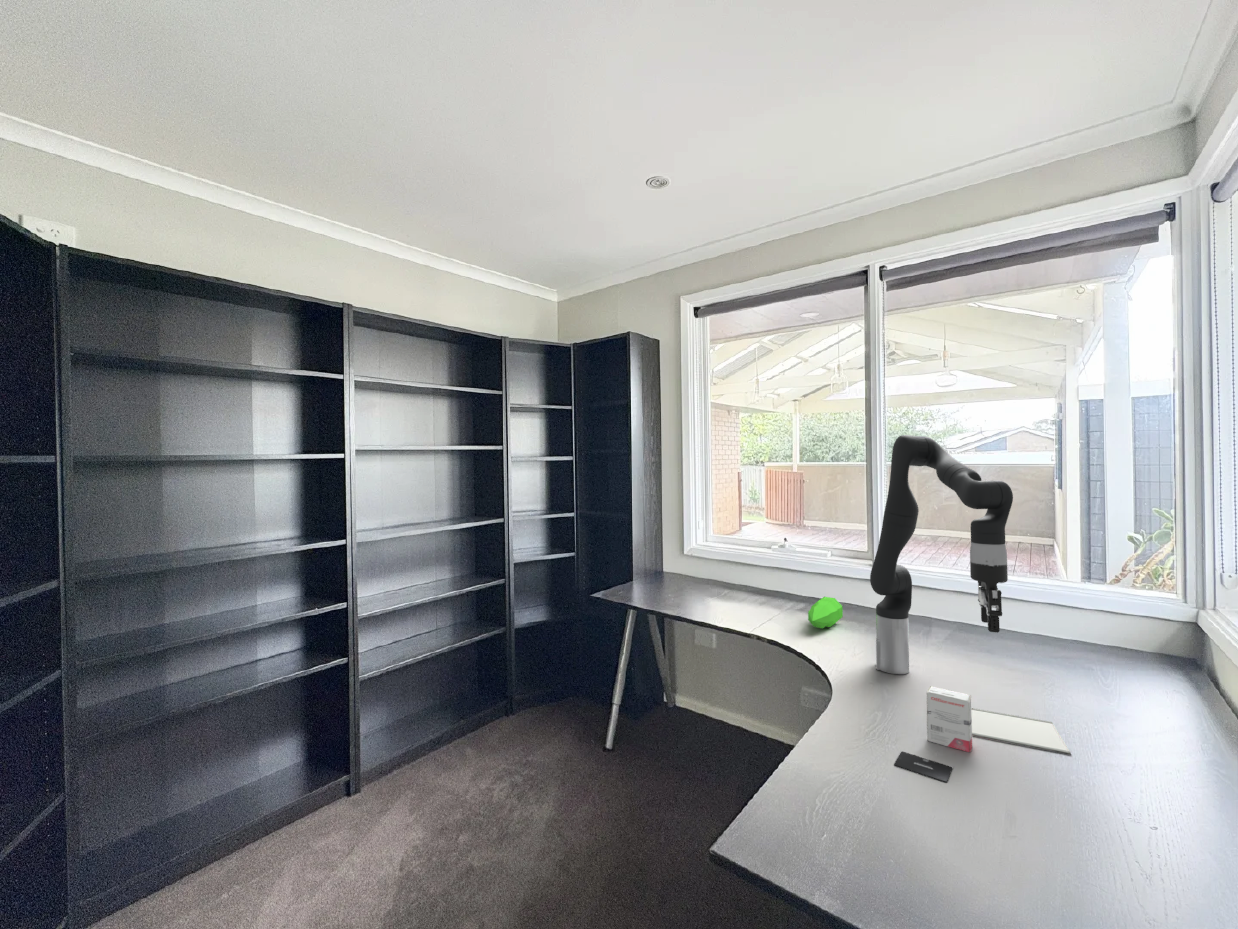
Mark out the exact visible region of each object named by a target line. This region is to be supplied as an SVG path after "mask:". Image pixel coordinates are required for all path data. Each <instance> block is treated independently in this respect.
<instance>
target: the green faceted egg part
mask: <svg viewBox="0 0 1238 929" xmlns="http://www.w3.org/2000/svg"><path fill="white" fill-rule="evenodd" d="M843 610H844V609H843V605H842V604H841V603H840V602H839V601H838V600H837V599H836V598H835V597H829V596H822V598H820V599H818V600H817V601H816V602H815V603H813V604H812V605H811V606H810V609H809V610H808V612H807V614H808V615H807V616H808V617H807V620H808V621H809V623H810V624H811V625H812V626H813V628H817V629H824V628H828V627H830V628H831V627H833V625H835V624H836V623H838V622H839V621H840V620H841V619H842V618H843V612H844V611H843ZM825 626H826V627H825Z"/></svg>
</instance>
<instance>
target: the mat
mask: <svg viewBox="0 0 1238 929" xmlns="http://www.w3.org/2000/svg"><path fill="white" fill-rule="evenodd" d="M971 717H972V737H974V738H975V737H976V738H979V739H985V740H991V741H994V742H995V741H996V742H1001V743H1005V744H1010V745H1011V744H1012V745H1016V746H1021V747H1027V748H1030V749H1031V748H1033V749H1038V750H1041V751H1042V750H1043V751H1048V752H1053V753H1058V754H1064V755H1068V756H1071V755H1072V751H1070V750H1069V748H1068V745H1067V744H1066V743H1065V741H1064V739H1063V738H1062V737H1061V734H1060V733H1059V732H1058V730H1057V728H1056V727H1055V724H1054V723H1053V722H1052V721H1050V720H1043V719H1038V718H1030V717H1026V716H1020V715H1014V714H1007V713H1002V712H997V711H991V710H985V709H980V708H979V709H978V708H974V707H973V708H972V707H971Z"/></svg>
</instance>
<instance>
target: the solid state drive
mask: <svg viewBox="0 0 1238 929" xmlns="http://www.w3.org/2000/svg"><path fill="white" fill-rule="evenodd" d="M893 766H894V767H896V768H899V769H903V770H905V771H908V772H912V773H914V774H917V773H918V775H921V776H924V777H926V778H929V779H932V780H936V781H939V782H941V783H945V784H947V783H948V782H949V779H950V777H951V775H952V772H953V769H954V768H953V767H952V766H950V765H947V764H944V763H941V762H938V761H935V760H931V759H928V758H925V757H921V756H919V755H915V754H911V753H909V752H906V751H900V752H899V754H898V756H897V758H896V760H895V762H894V763H893Z"/></svg>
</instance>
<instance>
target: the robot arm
mask: <svg viewBox="0 0 1238 929" xmlns="http://www.w3.org/2000/svg"><path fill="white" fill-rule="evenodd" d="M891 452H892V453H891V462H890V463H891V464H890V476H889V485H888V492H887V497H886V503H885V506H884V512H883V517H882V526H881V532H880V537H879V541H878V546H877V550H876V554H875V555H874V560H873V564H872V567H871V571H870V575H869V581H870V586H871V588H872V590H873V591H874V592H875V594H876V595H880V596H884V598H883V599H882V600H880V602H879V603H877V605H875V606H876V607H875V616H876V617H875V621H876V622H875V623H876V625H875V626H876V628H875V630H876V631H875V632H876V637H875V651H876V653H875V656H876V658H875V660H876V664H875V666H876V670H878V671H882V672H883V673H889V674H891V675H906V674H909V673H910V645H909V644H910V643H909V642H910V637H909V636H910V635H909V633H910V631H909V612H910V610H911V607H912V599H913V596H912V594H913V582H912V581H913V580H912V576H911V573H910V571H909V570H908V568H907V567H905V566H903V565H901V564H898V559H899V557H900V555H901V553H902V551H903V549H904V548H905V546H907V544H908V542H909V541H910V540H911V539H912V536H913V535H914V532H915V530H916V528H917V527H916V526H917V522H918V516H919V511H920V510H919V505H918V502H917V500H916V498H915V495H914V494H913V491H912V489H911V487H910V483H909V472H910V471H909V470H910V467H911V466H912V467H928V468H932V469H934V470H935V471H936V476H937V479H938V480H939V481H940V482H941V483H942V484H943V485H944V486H946V487H948V488H949V489H950V490H952V491H953V492H955V493H956V495H957V496H958V499H959V500H960V501H961V503H962V504H963V505H964V506H966V507H967V508H971V509H974V510H986V512H985V514H984V516H982V517H979V518H975V519H973V520H972V521H971V522H970V548H969V560H970V561H969V564H970V565H969V566H970V568H969V569H970V570H969V571H970V572H969V573H970V578H971V580H973V581H976V582H977V590H978V591H977V594H978V595H977V596H978V597H977V598H978V599H977V601H978V604H979V607H980V620H981V622H982V623H987V630H988V632H990V633H997V634H998V633H1000V630H1001V629H1000V617H1002V616H1003V610H1002V608H1003V607H1002V606H1003V605H1002V591H1001V589H999V588H998V584H999V583H1000V584H1003V583H1007V582H1008V580H1009V577H1008V552H1007V547H1006V546H1007V545H1006V525H1007V522H1008V520H1009V519H1008V518H1009V516H1010V511H1011V510H1012V505H1013V502H1014V501H1013V500H1014V494H1013V491H1012V488H1011V487H1010V485H1009V484H1008V483H1007V482H1005V481H1003V480H982V476H980V474H979V473H978V472H977V471H976V470H974V469H972V468H970V467H969V466H967V465H965V464H963V463H961V461H958V460H957V459H955V458H954V457H953V456H952V455H951V454H949V453H948V451H946V449H944V448H943V447H942V446H941V445H940V444H939V443H937V441H936V440H934V439H933V438H931V437H929V436H924V435H923V436H922V435H910V434H902V435H899V436H898V437H897V438H895V441H894V444H893V446H892V451H891Z"/></svg>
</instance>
